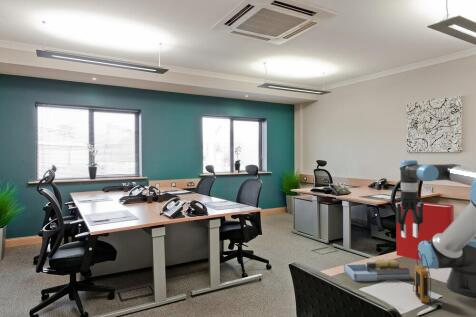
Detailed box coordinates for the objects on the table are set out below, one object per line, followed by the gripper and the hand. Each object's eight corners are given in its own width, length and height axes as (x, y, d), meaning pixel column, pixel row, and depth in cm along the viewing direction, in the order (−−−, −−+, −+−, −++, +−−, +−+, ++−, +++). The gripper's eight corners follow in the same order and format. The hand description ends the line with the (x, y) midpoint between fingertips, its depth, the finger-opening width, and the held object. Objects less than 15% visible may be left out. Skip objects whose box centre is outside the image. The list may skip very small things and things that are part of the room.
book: (396, 255, 183) (396, 201, 183) (401, 252, 189) (401, 200, 188) (450, 266, 163) (450, 207, 163) (454, 263, 169) (454, 205, 168)
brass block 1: (387, 271, 152) (387, 262, 152) (379, 271, 151) (379, 262, 151) (383, 268, 156) (383, 259, 156) (375, 268, 155) (375, 259, 155)
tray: (377, 280, 147) (377, 273, 147) (354, 281, 146) (354, 274, 146) (364, 270, 160) (364, 263, 160) (344, 271, 159) (344, 264, 159)
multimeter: (453, 309, 119) (453, 258, 118) (425, 307, 121) (424, 257, 120) (436, 293, 133) (436, 247, 133) (411, 291, 135) (411, 246, 135)
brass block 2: (398, 271, 152) (398, 262, 152) (390, 271, 152) (390, 262, 152) (393, 268, 156) (393, 259, 156) (386, 268, 156) (386, 259, 156)
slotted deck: (410, 279, 148) (410, 269, 148) (377, 280, 147) (377, 270, 147) (396, 269, 160) (396, 261, 160) (366, 270, 159) (366, 262, 159)
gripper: (422, 189, 158) (422, 234, 158) (387, 190, 157) (387, 235, 157) (431, 191, 150) (432, 238, 151) (395, 192, 150) (395, 239, 150)
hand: (409, 236), depth 154 cm, fingers open, 5 cm apart
